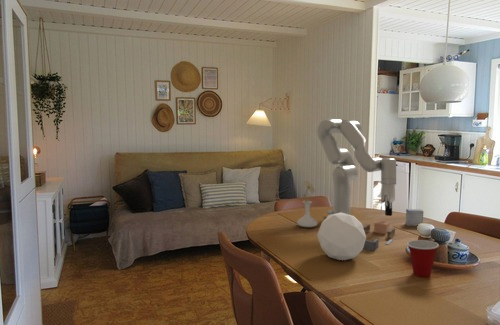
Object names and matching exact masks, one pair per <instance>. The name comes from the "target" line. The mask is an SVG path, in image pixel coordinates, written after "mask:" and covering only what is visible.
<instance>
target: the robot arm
mask: <svg viewBox="0 0 500 325" xmlns="http://www.w3.org/2000/svg"><path fill="white" fill-rule="evenodd" d="M316 134H317V137H318V140H319V142H320V144H321V145H322V148H323V150H324V153H325V155H326V157H327V160H328V162H329V163H330V164H331V165H332V166H333V165H334V166H335V165H338V166H336V167H335V168H334V169H333V170H332V181H333V210H331V209H327V210H326V212H327V215H332V214H336V213H340V212H342V213H345V214H348V215H351V184H350V181H352V180H355V179H357V177H358V175H359V171H358V167H357V165H356V163H355V161H354V159H353V158H354V157H355V159H356V162H358V164H359V165H360V167H361V168H362V169H363V170H364V171H366V172H367V173H374V172H379V171H380V172H381V173H380V184H381V192H380V193H381V195H380V201H381V202H380V203H382V204H384V214H385V216H387V217H392V216H393V202H394V201H395V198H396V189H395V187H396V185H397V160H396V159H395V158H392V157H380V156H379V157H378V156H377V157H376V156H375V157H371V156H370V154H369V153H368V151H367V149H366V143H367V139H366V137H365V136H364V135H363V134H362V125H361V123H360V122H358V121H357V120H351V119H343V118H342V119H341V118H326V119H323V120H322V121H320V122H319V123H318V126H317V130H316ZM332 134H342V136H344V138H345V139H346V141H347V142H348V143H349V146H351V148H352V149H353V154H354V157H353V156H352V154H351V152H350V151H349V150H348V149H347V148H346V147H345V148H344V147H340V146H339V144H338V141H337V140H336V138H335V136H333V135H332Z"/></svg>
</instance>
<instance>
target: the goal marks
mask: <svg viewBox="0 0 500 325" xmlns="http://www.w3.org/2000/svg"><path fill="white" fill-rule="evenodd" d="M393 240H394V239H392V238H391V239H388V241H387V242H386V243H385V245H387V246H388V245H389V244H391V243H392V242H393Z"/></svg>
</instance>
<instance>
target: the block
mask: <svg viewBox="0 0 500 325" xmlns="http://www.w3.org/2000/svg"><path fill="white" fill-rule="evenodd" d="M373 227H374V228H373V233H377V234H384V235H387V231H389V230H390V221H383V220H377V221H375V222H374V226H373Z"/></svg>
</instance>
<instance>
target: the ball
mask: <svg viewBox="0 0 500 325" xmlns="http://www.w3.org/2000/svg"><path fill="white" fill-rule="evenodd" d="M363 226H364V225H363V223H362V222H361V221H360V220H359V219H357V218H356V217H355V216H354V215H353V214H352V215H351V214H350V215H348V214H345V213H342V212H340V213H336V214H332V215H331V214H327V216H326V217H325V219H324V220H323V221H322V222H321V224H320V226H319V229H318V232H317V235H316V237H317V239H318V242H319V244H320V247H321V250H323V252H324V253H325V254H326V255H327V256H328V257H329V258H332V259H334V260H338V261H340V260H342V261H341V262H343V260H344V261H347V260H351V259H355V258H356V257H357V256H358V255H359V254H360V253H361V252H362V251H363V250H364V249H363V247H364V243H365V240H367V236H366V234H365V232H364V228H363Z"/></svg>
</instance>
